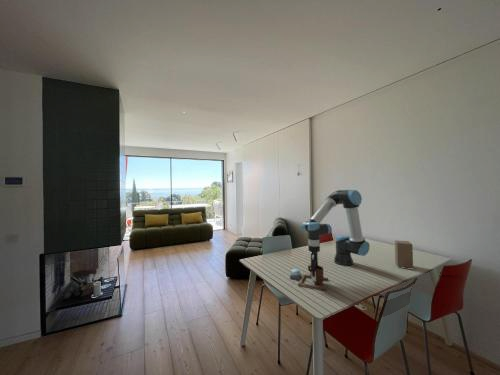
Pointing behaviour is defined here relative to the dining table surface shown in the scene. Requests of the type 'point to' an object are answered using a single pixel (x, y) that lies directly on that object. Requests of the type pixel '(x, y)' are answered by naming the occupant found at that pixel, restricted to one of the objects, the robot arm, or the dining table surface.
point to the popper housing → (295, 277)
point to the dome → (295, 272)
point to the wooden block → (403, 254)
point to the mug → (318, 274)
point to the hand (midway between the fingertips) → (314, 278)
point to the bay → (309, 284)
